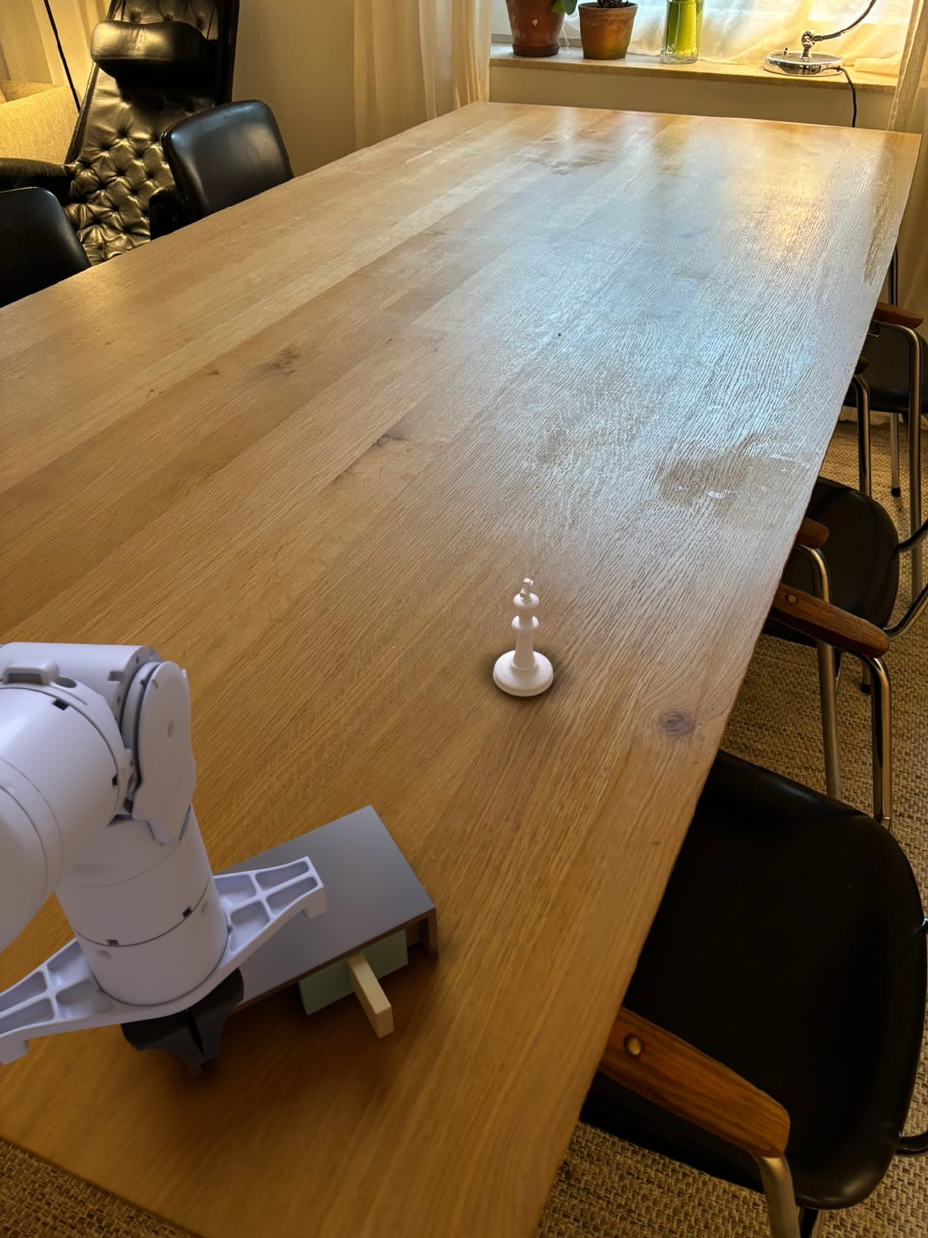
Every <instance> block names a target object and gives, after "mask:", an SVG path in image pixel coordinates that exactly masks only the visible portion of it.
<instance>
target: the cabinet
mask: <svg viewBox="0 0 928 1238" xmlns="http://www.w3.org/2000/svg"><path fill="white" fill-rule="evenodd" d="M383 822H384V821H383V820H382V818H380V816H379V814H378V813H377V811H376V810H375V808H374V806H373V805H372V804H369V805H367V806H365V807H362V808H360V809H357V810H356V811H353V812H351V813H349V814H346V815H344V816H342V817H340V818H337V819H335V820H333V821H331V822H329V823H325V824H323V825H322V826H319V827H317V828H315V829H312V830H310V831H308V832H305V833H303V834H301V835H299V836H296V837H294V838H292V839H289V840H288V841H285V842H283V843H281V844H278V845H276V846H274V847H272V848H271V847H270V848H269V849H267V850H265V851H262V852H261V853H258V854H256V855H253V856H251V857H249V858H247V859H244V860H242V861H240V862H238V863H235V864H233V865H231V866H229V867H226V868H224V869H221V870H219V871H217V872H215V873H212V874H213V876H219V875H226V874H233V873H240V872H247V871H254V870H260V869H267V868H272V867H277V866H282V865H285V864H288V863H292V862H294V861H297V860H299V859H302V858H304V857H309V859H310V861H311V863H312V865H313V867H314V868H315V870H316V872H317V874H318V876H319V878H320V880H321V881H322V883H323V885H324V888H325V894H326V900H327V906H328V911H327V912H325V913H323V914H320V915H318V916H316V917H314V918H311V919H308V918H306V917H305V916H304V914H303V911H302V910H301V911H300V912H298V913H297V914H296V915H295V916H294V917H292V918H291V919H290V920H289V921H288V922H287V923H285V924H284V925H283V926H282V927H281V928H280V929H279V930H278V931H277V932H276V933H274V934H273V935H272V936H271V937H270V938H269V939H268V940H267V941H266V942H264V943H263V944H262V945H261V946H260V947H259V948H258V949H257V950H256V951H255V952H253V953H252V954H251V955H250V956H249V957H248V958H247V959H246V960H245V961H244V962H242V963H241V964H240V965H239V966H238V967H239V969H240V972H241V974H242V977H243V981H244V998H243V1000H242V1001H241V1002H240V1003H239V1004H237V1005H236V1006H235V1007H234V1009H233V1010H232V1011H231V1012H230V1014H229V1015H228V1017H230V1016H232V1015H234V1014H236V1013H238V1012H240V1011H242V1010H244V1009H246V1008H248V1007H250V1006H252V1005H254V1004H256V1003H258V1002H260V1001H262V1000H264V999H266V998H269V997H270V996H273V995H274V994H276V993H279V992H280V991H282V990H285V989H286V988H288V987H291V986H292V985H295V984H296V983H298V981H300V980H302V979H304V978H306V977H308V976H310V975H312V974H314V973H316V972H318V971H320V970H322V969H324V968H326V967H328V966H330V965H332V964H334V963H336V962H338V961H340V960H342V959H344V958H346V957H348V956H350V955H352V954H354V953H356V952H358V951H360V950H362V949H364V948H366V947H368V946H370V945H372V944H374V943H376V942H378V941H380V940H382V939H384V938H386V937H388V936H390V935H392V934H394V933H396V932H398V931H400V930H402V929H404V928H405V934H406V945H407V948H409V947H410V946H413V945H414V944H416V943H418V942H420V941H421V943H422V945H423V946H424V948H425V949H426V951H427V954H428V955H429V956H433V955H435V954H437V953H438V952H439V941H438V940H439V939H438V938H439V937H438V917H437V915H438V914H437V906H436V905H435V903H434V901H433V900H432V898H431V897H430V895H429V894H428V892H427V890H426V889H425V888H424V886H423V884H422V883H421V880H419V877H418V876H417V875H416V873H415V871H414V870H413V868H412V866H411V865H410V863H409V862H408V861H407V859H406V857H405V856H404V854H403V853H402V851H401V849H400V847H399V846H398V844H397V843H396V841H395V840H394V838H393V836H392V835H391V833H390V831H389V830H388V828H387V826H386V825H385V824H384V823H383ZM186 1010H187V1008H186ZM185 1063H186V1065H187V1067H188V1070H189V1072H190V1074H191V1077H192V1078H193V1079H194V1078H197V1077H198V1076H201V1075H202V1074H203V1068H202V1066H201V1064H200V1065H198V1066H196V1067H191V1065H190V1064H189V1063H188V1062H186V1061H185Z"/></svg>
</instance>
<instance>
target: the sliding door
mask: <svg viewBox="0 0 928 1238" xmlns="http://www.w3.org/2000/svg"><path fill="white" fill-rule="evenodd" d="M408 958H409V957H408V947H407V945H406V934H405V928H404V929H402V930H400V931H398V932H396V933H394V934H392V935H390V936H388V937H386V938H384V939H382V940H380V941H378V942H376V943H374V944H372V945H370V946H368V947H366V948H364V949H362V950H360V951H358V952H356V953H354V954H352V955H350V956H348V957H346V958H344V959H342V960H340V961H338V962H336V963H334V964H332V965H330V966H328V967H326V968H324V969H322V970H320V971H318V972H316V973H314V974H312V975H310V976H308V977H306V978H304V979H302V980H300V981H298V982H297V985H298V988H299V993H300V997H301V998H300V999H301V1002H302V1006H303V1010H304V1011H305V1015H306V1016H309V1015H312V1014H314V1013H315V1012H318V1011H320V1010H321V1009H323V1008H326V1007H327V1006H329V1005H331V1004H333V1003H335V1002H337V1001H339V1000H341V999H343V998H345V997H346V996H348V995H350V994H352V993H355V995H356V997H357V999H358V1001H359V1003H360V1005H361V1007H362V1009H363V1012H364V1013H365V1015H366V1016H367V1018H368V1020H369V1023H370V1025H371V1026H372V1028H373V1030H374V1032H375V1034H376V1035H377V1038H379V1039H381V1038H383V1037H385V1036H387V1035H389V1034H391V1033H392V1032H394V1031H395V1027H394V1018H393V1009H392V1008H393V1007H392V1005H391V1003H390V1001H389V999H388V998H387V995H386V993H385V992H384V990H383V989H382V987H381V985H380V983H379V981H378V980H379V979H381V978H383V977H386V976H387V975H389V974H392V973H394V972H395V971H397V970H400V969H401V968H403V967H405V966H407V965H408V964H409V959H408Z"/></svg>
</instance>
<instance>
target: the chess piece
mask: <svg viewBox="0 0 928 1238" xmlns="http://www.w3.org/2000/svg"><path fill="white" fill-rule="evenodd" d="M534 581H535V580H532V579H531V578H527V577H525V578H524V579H523V582H522V589H521V590H520V592H519V593H518V594H516V595H515V596H514V598H513V601H512V604H513V607H514V609H515V611H516V616H515V617H514V618H513V619H512V621H511V627H512V629H513V630H514V631H515V632H516V633H518V634H517V638H516V645H515V649H514V650H510V651H508V652H506V653H504V654H502V655H501V656H500V657H499V658H498V659H497V660H496V662H495V664H494V668H493V673H492V677H493V680H494V683H495V685H497V687H498V688H499V689H500V690H502V691H504V692H505V693H508V694H509V695H511V696H516V697H532V696H536V695H540V694H541V693H543V692H545V691H546V690H547V689H549V687H550V686H551V685H552V683H553V681H554V670H553V665H552V663H551V662H550V660H549V659H548V658H547V657H546V656H545V655H543V654H541V653H540V652H537V651H535V650H534V646H533V645H534V644H533V637H532V636H533V635H532V634H533V633H535V632H537V630H538V629H539V627H540V623H539V620H538V619H537V617H536V616H535V614H536V611H537V610H538V608H539V606H540V598H539V597H538V596H537V595H536V594H534V593H532V592H531V590H532V589H533V587H534V586H535V585H534V583H535V582H534Z"/></svg>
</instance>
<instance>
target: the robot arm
mask: <svg viewBox="0 0 928 1238" xmlns="http://www.w3.org/2000/svg"><path fill="white" fill-rule="evenodd" d="M186 669H187V668H186ZM186 669H184V668H183V669H181V668H180V666H179V665H178V664H176V663H175V662H174V661H171V660H170V661H169V660H167V661H164V660H163V657H162V655H161V654H160V653H159V652H158V650H157V649H156V648H151V646H150V645H128V644H127V645H126V644H123V645H122V644H97V643H96V644H91V643H64V642H63V643H62V642H61V643H60V642H59V643H58V642H27V641H24V642H23V641H14V642H13V641H12V642H9V643H6V644H0V954H1V953H2V952H4V951H5V950H6V949H7V948H8V947H9V946H11V944H13V942H15V940H17V939H18V937H20V935H21V933H23V931H24V930H25V929H26V928H27V926H28V925H29V924H30V922H31V921H32V920H33V919H34V917H35V916H36V915H37V913H39V912H40V910H41V909H42V907H43V906H44V905H45V904H46V902H47V901H48V900H49V899H50V897H51V896H52V895H53V894H54V895H55V896H56V899H57V901H58V903H59V905H60V907H61V909H62V911H63V913H64V915H65V918H66V921H67V923H68V924H69V926H70V928H71V930H72V933H73V934H74V936H75V937H74V938H73V939H72V940H71V941H69V942H68V943H66V944H65V945H64V946H63V947H62V948H61V949H59V950H57V951H56V952H55V953H54V954H53V955H52V956H50V957H49V958H47V960H45V961H44V962H43V963H42V964H40V965H39V966H37V967H36V968H35V969H34V970H33V971H31V972H30V973H28V974H27V975H26V976H25V977H23V978H22V979H21V980H19V981H18V982H16V983H15V984H14V985H12V986H10V987H9V988H7V989H5V990H4V991H2V992H1V993H0V1062H1V1065H2V1066H6V1065H9V1064H10V1063H12V1062H15V1061H17V1060H19V1059H21V1058H23V1057H24V1056H26V1055H27V1054H28V1052H29V1051H30V1045H29V1042H28V1040H31V1039H36V1038H40V1037H45V1036H52V1035H57V1034H63V1033H70V1032H76V1031H82V1030H83V1031H84V1030H89V1029H90V1030H91V1029H95V1028H101V1027H108V1026H113V1025H120V1029H121V1032H122V1035H123V1037H124V1039H125V1040H126V1042H127V1043H128V1044H129V1045H130V1046H131V1047H132V1048H133V1049H134V1050H135V1051H137V1052H138V1053H139V1052H142V1051H143V1052H144V1051H149V1050H161V1051H165V1052H168V1053H171V1054H174V1055H175V1056H177V1057H179V1058H180V1059H182V1060H183V1061H185V1063H186V1062H188V1063H189V1064H190V1065H191V1067H196V1066H198V1065H200V1066H201V1065H202V1064H204V1063H206V1062H208V1061H209V1060H212V1059H214V1058H216V1057H218V1056H219V1054H220V1043H221V1037H222V1033H223V1029H224V1026H225V1023H226V1021H227V1019H228V1018H229V1016H228V1015H229V1014H230V1012H231V1011H232V1010H233V1009H234V1007H235V1006H236V1005H237V1004H239V1003H240V1002H241V1001H242V1000H243V998H244V981H243V977H242V974H241V972H240V969H239V967H238V966H239V965H240V964H241V963H242V962H244V961H245V960H246V959H247V958H248V957H249V956H250V955H251V954H252V953H253V952H255V951H256V950H257V949H258V948H259V947H260V946H261V945H262V944H263V943H264V942H266V941H267V940H268V939H269V938H270V937H271V936H272V935H273V934H274V933H276V932H277V931H278V930H279V929H280V928H281V927H282V926H283V925H284V924H285V923H287V922H288V921H289V920H290V919H291V918H292V917H294V916H295V915H296V914H297V913H298V912H300V911H301V910H302V911H303V914H304V916H305V917H306V918H308V919H311V918H314V917H316V916H318V915H320V914H323V913H325V912H327V911H328V906H327V900H326V894H325V888H324V885H323V883H322V881H321V880H320V878H319V876H318V874H317V872H316V870H315V868H314V867H313V865H312V863H311V861H310V859H309V857H304V858H302V859H299V860H297V861H294V862H292V863H288V864H285V865H282V866H277V867H272V868H267V869H260V870H254V871H247V872H240V873H233V874H226V875H219V876H213V874H214V873H213V871H212V868H211V864H210V861H209V857H208V854H207V850H206V846H205V844H204V840H203V837H202V833H201V831H200V826H199V824H198V820H197V817H196V815H195V809H194V807H193V804H192V799H193V797H194V793H195V790H196V788H197V787H196V786H197V775H196V771H197V764H196V763H197V762H196V760H195V756H194V753H193V748H192V747H193V746H192V736H191V733H192V730H191V729H192V727H191V726H192V701H191V690H190V683H189V677H188V672H187V670H186ZM186 1008H187V1010H186Z"/></svg>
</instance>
